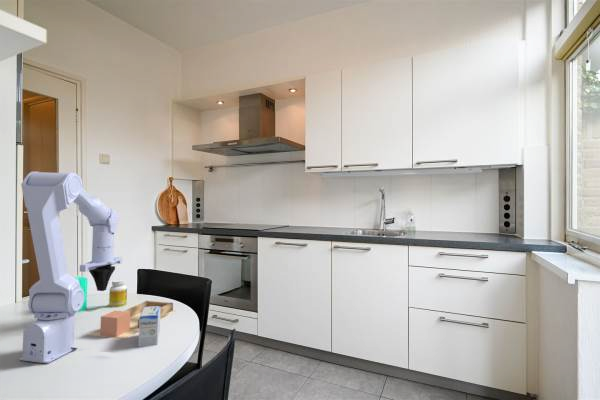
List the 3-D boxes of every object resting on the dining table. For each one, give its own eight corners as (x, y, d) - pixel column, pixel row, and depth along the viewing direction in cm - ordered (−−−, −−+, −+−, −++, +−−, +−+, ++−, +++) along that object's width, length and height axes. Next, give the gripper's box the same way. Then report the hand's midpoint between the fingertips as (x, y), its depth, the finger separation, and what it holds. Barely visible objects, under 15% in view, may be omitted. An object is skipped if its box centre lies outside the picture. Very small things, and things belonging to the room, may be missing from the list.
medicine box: (141, 338, 84) (142, 306, 85) (159, 336, 86) (160, 305, 86) (137, 351, 77) (139, 316, 77) (157, 349, 79) (158, 314, 79)
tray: (125, 342, 82) (126, 329, 82) (86, 338, 84) (87, 325, 84) (175, 313, 104) (175, 303, 104) (143, 310, 106) (144, 300, 106)
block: (116, 336, 83) (117, 318, 83) (100, 335, 84) (100, 316, 84) (129, 329, 88) (130, 311, 88) (114, 328, 89) (114, 310, 89)
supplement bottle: (107, 307, 110) (108, 279, 110) (124, 304, 113) (125, 277, 113) (110, 311, 105) (111, 282, 106) (127, 308, 109) (128, 280, 109)
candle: (67, 308, 108) (69, 273, 108) (88, 306, 110) (89, 272, 111) (63, 313, 102) (64, 277, 103) (84, 311, 105) (85, 275, 105)
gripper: (94, 250, 89) (93, 297, 89) (130, 244, 104) (129, 285, 103) (74, 249, 91) (72, 296, 90) (112, 243, 105) (111, 284, 105)
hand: (101, 290), depth 97 cm, fingers closed
